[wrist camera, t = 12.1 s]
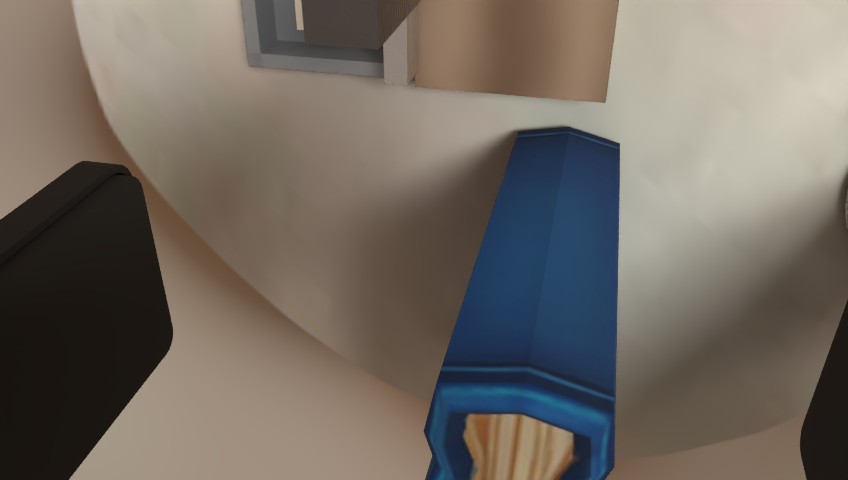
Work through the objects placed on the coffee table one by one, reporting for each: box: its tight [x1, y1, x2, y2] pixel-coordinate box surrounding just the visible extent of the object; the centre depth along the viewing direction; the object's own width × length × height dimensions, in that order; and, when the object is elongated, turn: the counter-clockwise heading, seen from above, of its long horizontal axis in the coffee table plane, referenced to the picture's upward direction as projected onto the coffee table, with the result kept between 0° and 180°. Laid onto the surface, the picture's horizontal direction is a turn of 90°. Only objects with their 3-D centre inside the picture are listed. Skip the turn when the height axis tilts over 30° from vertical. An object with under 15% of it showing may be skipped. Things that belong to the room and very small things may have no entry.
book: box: [424, 127, 620, 480], centre depth 40 cm, size 22×7×25 cm, turn 179°
